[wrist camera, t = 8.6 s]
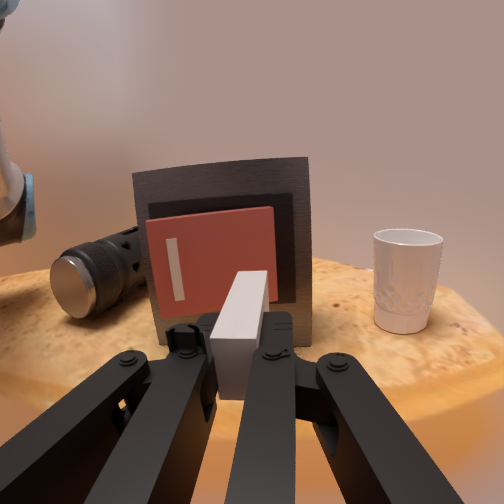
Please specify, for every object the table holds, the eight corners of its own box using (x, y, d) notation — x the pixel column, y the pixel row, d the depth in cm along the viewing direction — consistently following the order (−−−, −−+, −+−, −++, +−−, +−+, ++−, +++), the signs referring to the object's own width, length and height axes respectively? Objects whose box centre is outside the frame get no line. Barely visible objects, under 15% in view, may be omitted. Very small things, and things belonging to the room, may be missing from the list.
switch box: (158, 345, 31) (130, 173, 26) (181, 312, 39) (163, 171, 34) (311, 347, 29) (308, 156, 24) (306, 311, 37) (302, 159, 32)
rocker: (161, 320, 24) (145, 222, 22) (161, 313, 25) (146, 220, 23) (278, 301, 26) (274, 207, 24) (273, 295, 27) (268, 206, 25)
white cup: (380, 341, 28) (389, 246, 26) (360, 309, 36) (364, 229, 33) (442, 332, 28) (456, 243, 25) (415, 303, 35) (422, 227, 33)
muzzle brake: (194, 265, 59) (188, 213, 57) (103, 334, 33) (83, 253, 31) (154, 264, 62) (147, 215, 59) (58, 323, 36) (39, 253, 33)
